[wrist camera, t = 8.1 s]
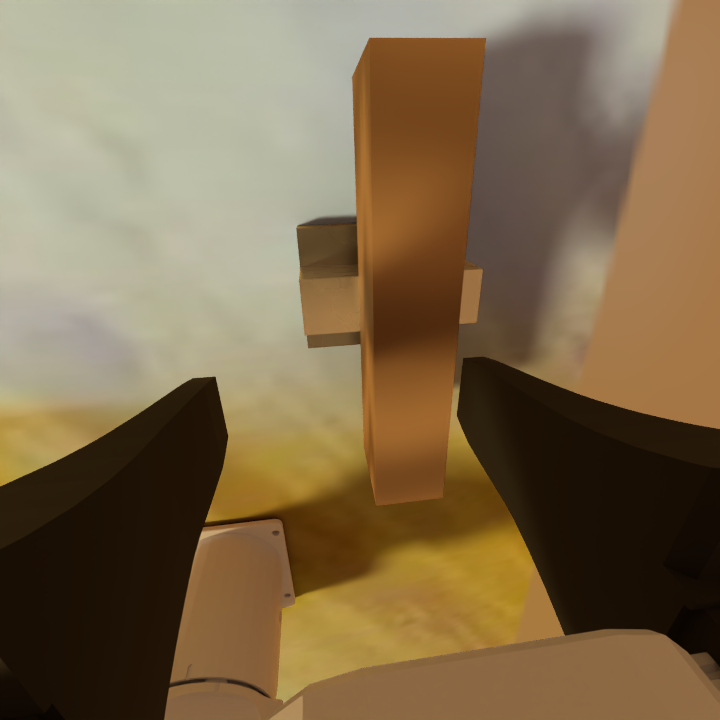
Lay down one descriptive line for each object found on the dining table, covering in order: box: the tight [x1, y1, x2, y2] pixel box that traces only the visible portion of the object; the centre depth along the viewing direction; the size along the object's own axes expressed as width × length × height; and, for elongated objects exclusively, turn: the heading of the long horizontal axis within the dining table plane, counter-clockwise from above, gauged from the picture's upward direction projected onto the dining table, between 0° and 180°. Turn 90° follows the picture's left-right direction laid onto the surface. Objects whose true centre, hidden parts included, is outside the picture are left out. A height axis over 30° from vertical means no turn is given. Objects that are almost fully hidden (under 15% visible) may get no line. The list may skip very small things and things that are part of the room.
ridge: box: [296, 223, 483, 348], centre depth 18 cm, size 6×8×4 cm
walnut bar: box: [352, 38, 486, 506], centre depth 15 cm, size 16×3×4 cm, turn 2°
